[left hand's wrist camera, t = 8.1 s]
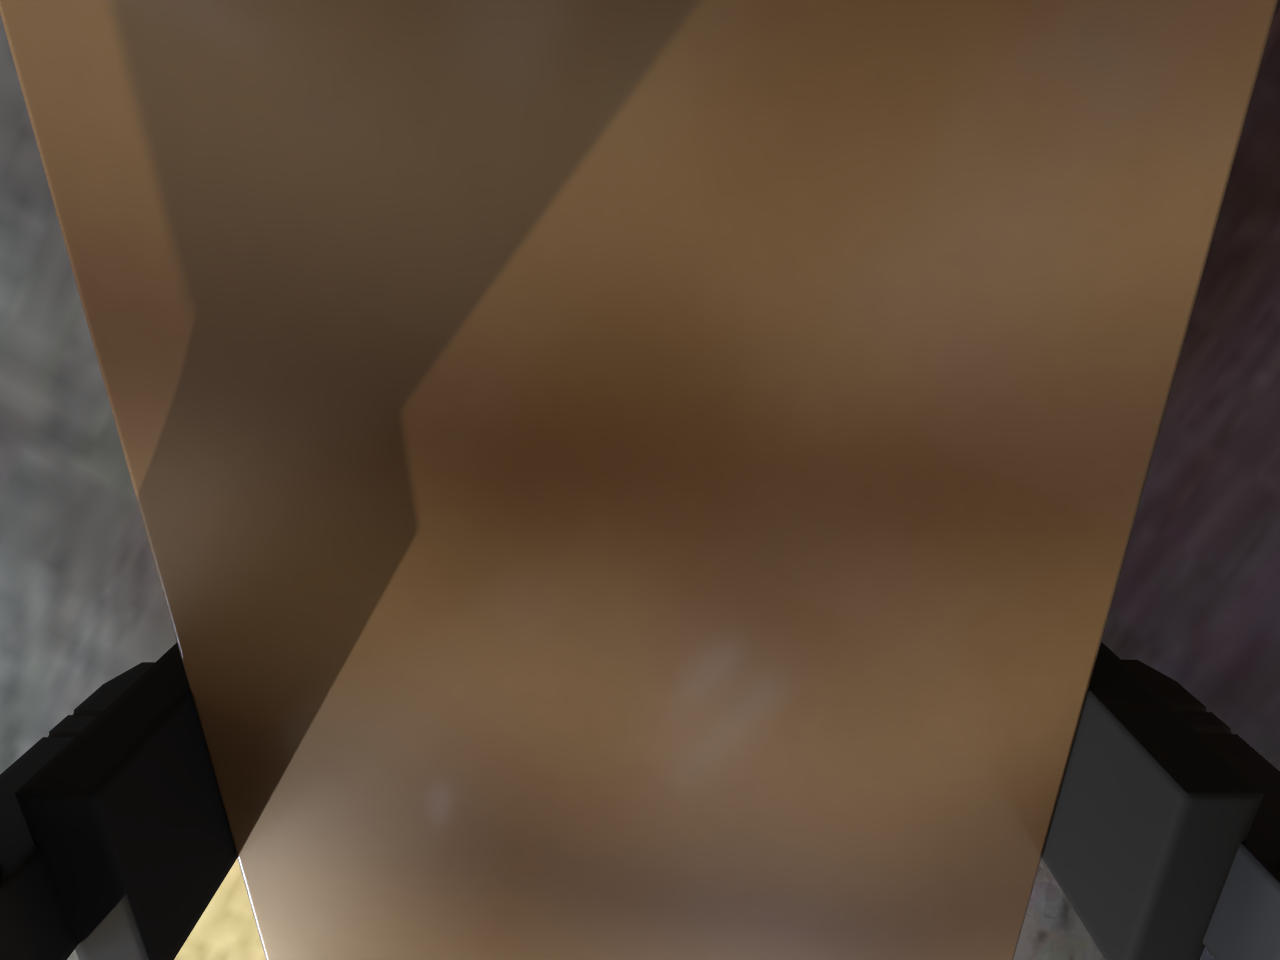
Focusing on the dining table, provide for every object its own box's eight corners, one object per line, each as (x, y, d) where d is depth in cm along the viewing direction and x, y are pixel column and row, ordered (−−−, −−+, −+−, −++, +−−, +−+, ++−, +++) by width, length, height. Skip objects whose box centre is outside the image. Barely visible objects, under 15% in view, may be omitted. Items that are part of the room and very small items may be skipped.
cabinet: (378, -137, 15) (-290, -994, 4) (897, -138, 15) (1561, -998, 4) (457, 587, 21) (270, 985, 10) (822, 586, 21) (1009, 983, 10)
